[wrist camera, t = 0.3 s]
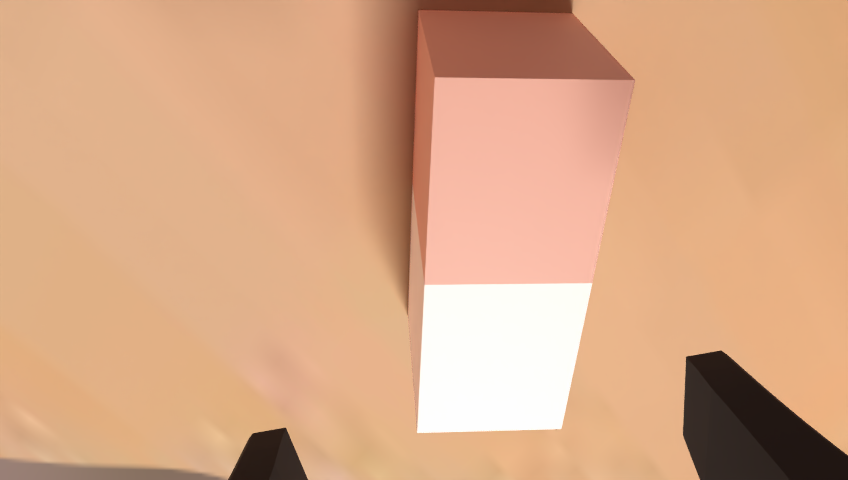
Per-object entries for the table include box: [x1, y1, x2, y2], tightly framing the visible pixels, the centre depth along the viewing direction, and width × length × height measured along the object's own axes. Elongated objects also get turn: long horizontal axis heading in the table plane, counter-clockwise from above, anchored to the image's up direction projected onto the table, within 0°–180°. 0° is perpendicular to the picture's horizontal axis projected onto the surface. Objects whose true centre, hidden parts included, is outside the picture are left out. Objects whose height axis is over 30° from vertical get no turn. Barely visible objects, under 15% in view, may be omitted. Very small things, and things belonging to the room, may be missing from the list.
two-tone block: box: [408, 10, 635, 433], centre depth 18 cm, size 4×10×5 cm, turn 178°
